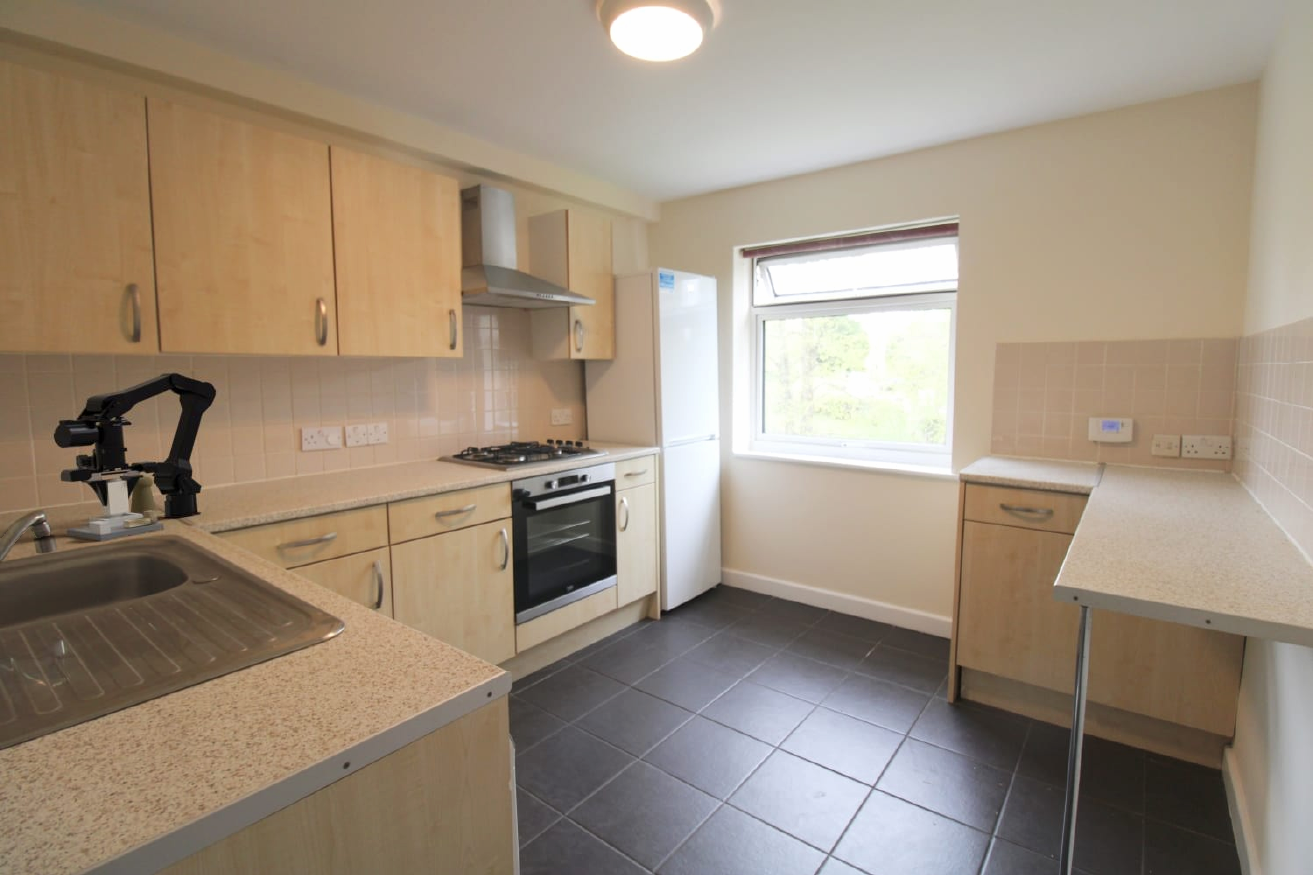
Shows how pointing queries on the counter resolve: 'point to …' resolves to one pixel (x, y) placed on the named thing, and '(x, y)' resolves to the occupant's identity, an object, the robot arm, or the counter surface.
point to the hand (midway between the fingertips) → (115, 504)
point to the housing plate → (111, 527)
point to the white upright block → (116, 496)
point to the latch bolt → (142, 519)
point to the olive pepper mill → (143, 496)
